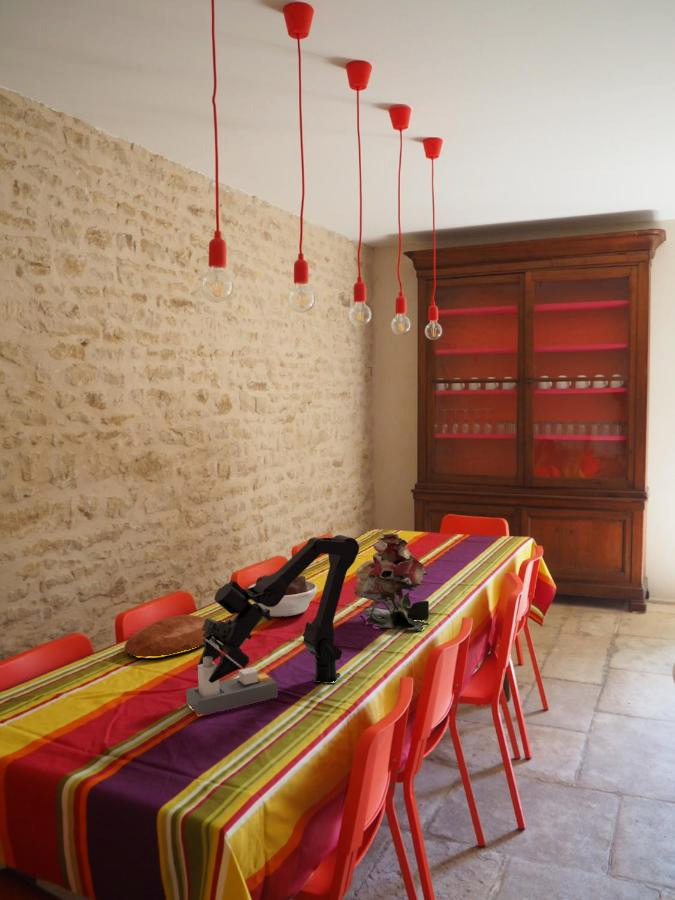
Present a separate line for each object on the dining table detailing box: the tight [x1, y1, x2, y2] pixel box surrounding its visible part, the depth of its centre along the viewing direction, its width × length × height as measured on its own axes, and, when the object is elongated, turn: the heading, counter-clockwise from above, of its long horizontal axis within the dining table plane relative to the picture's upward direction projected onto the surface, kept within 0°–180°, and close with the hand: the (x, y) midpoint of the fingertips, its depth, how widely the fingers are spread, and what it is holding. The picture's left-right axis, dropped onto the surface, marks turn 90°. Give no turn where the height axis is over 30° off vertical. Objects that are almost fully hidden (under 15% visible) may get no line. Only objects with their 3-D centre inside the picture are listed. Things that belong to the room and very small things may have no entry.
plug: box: [197, 656, 220, 698], centre depth 183 cm, size 4×4×12 cm
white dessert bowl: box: [248, 574, 318, 617], centre depth 264 cm, size 25×25×15 cm
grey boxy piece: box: [185, 666, 279, 715], centre depth 186 cm, size 21×9×7 cm, turn 120°
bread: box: [124, 614, 206, 656], centre depth 232 cm, size 23×32×9 cm
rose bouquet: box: [353, 532, 430, 632], centre depth 251 cm, size 26×29×30 cm
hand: (203, 676), depth 182 cm, fingers open, 9 cm apart
